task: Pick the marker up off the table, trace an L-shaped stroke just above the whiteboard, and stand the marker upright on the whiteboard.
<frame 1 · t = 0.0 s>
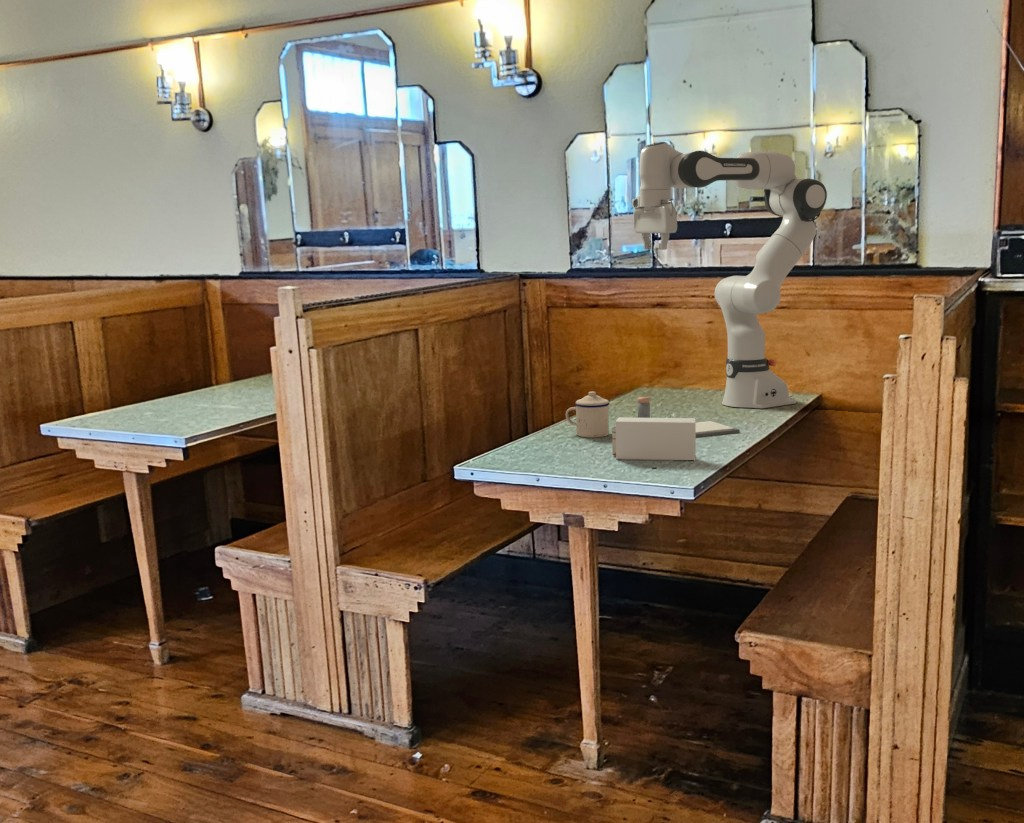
hand: (655, 249, 303), 48 cm above the table, fingers open, 8 cm apart
whiteboard: (684, 432, 281), on the table
marker: (643, 424, 294), on the table
teacup with lid: (587, 435, 282), on the table
cigarette display: (653, 459, 251), on the table
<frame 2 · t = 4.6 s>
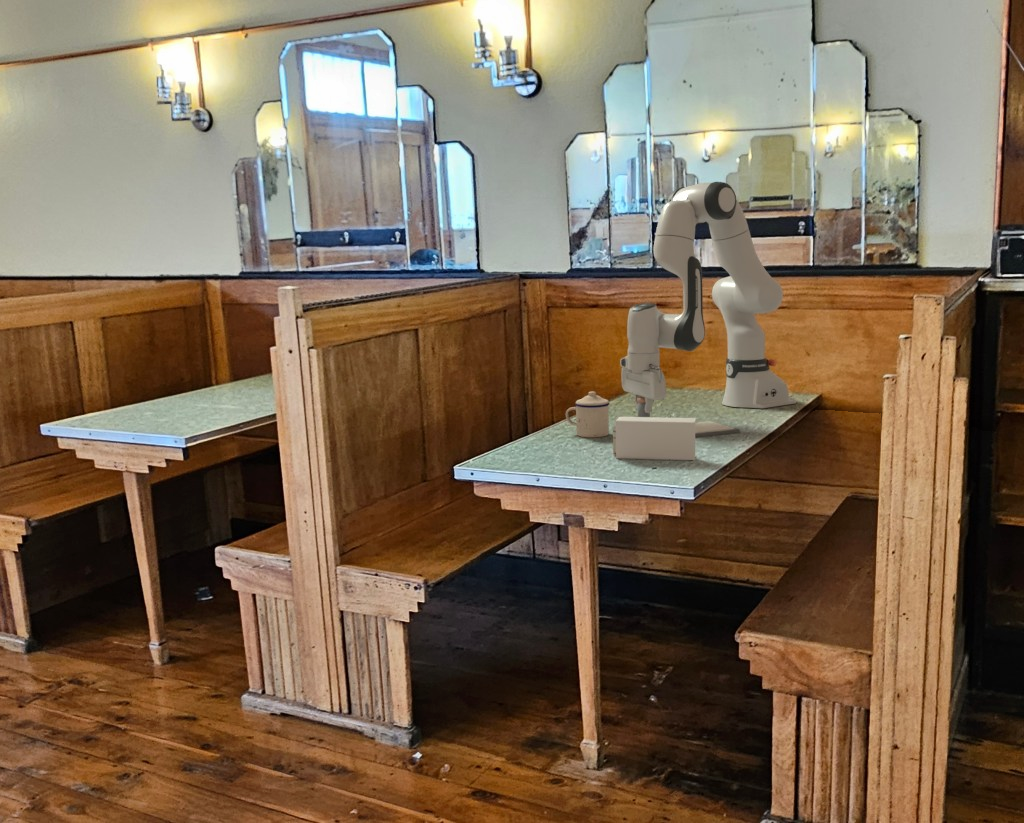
hand: (643, 411, 294), 4 cm above the table, fingers closed on marker, 3 cm apart
marker: (643, 424, 294), on the table, touching gripper
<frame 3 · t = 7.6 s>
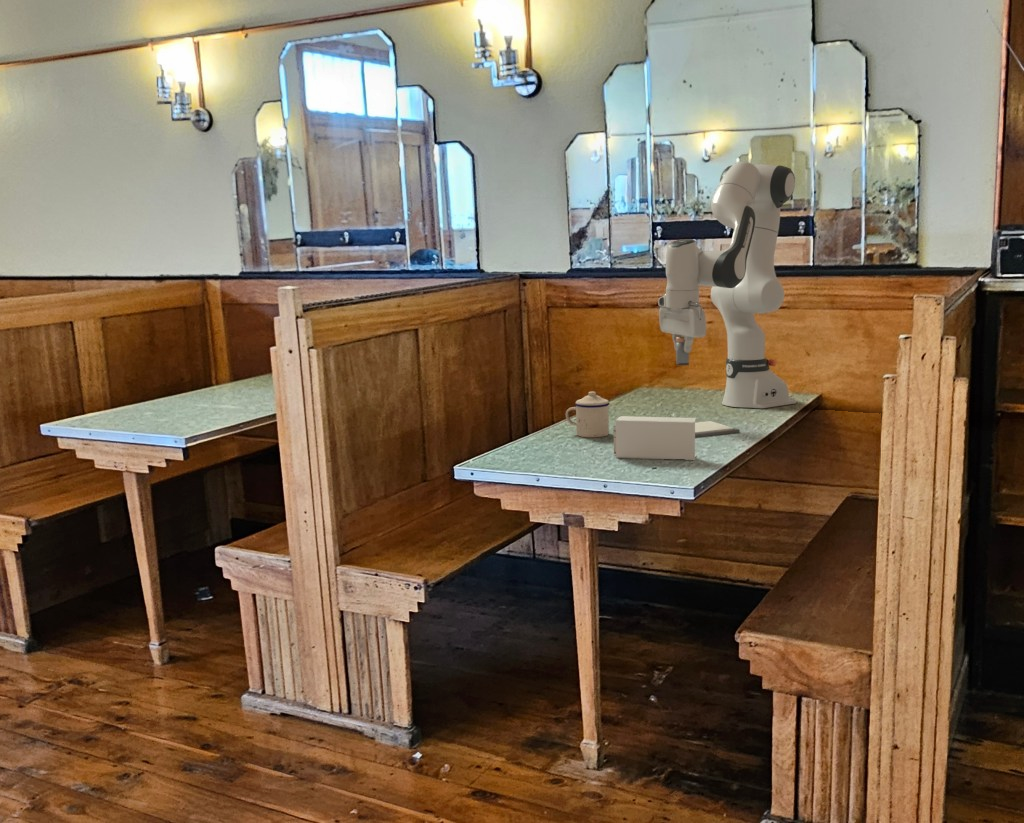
hand: (682, 351, 286), 21 cm above the table, fingers closed on marker, 3 cm apart
marker: (682, 364, 286), point 17 cm above the table, touching gripper
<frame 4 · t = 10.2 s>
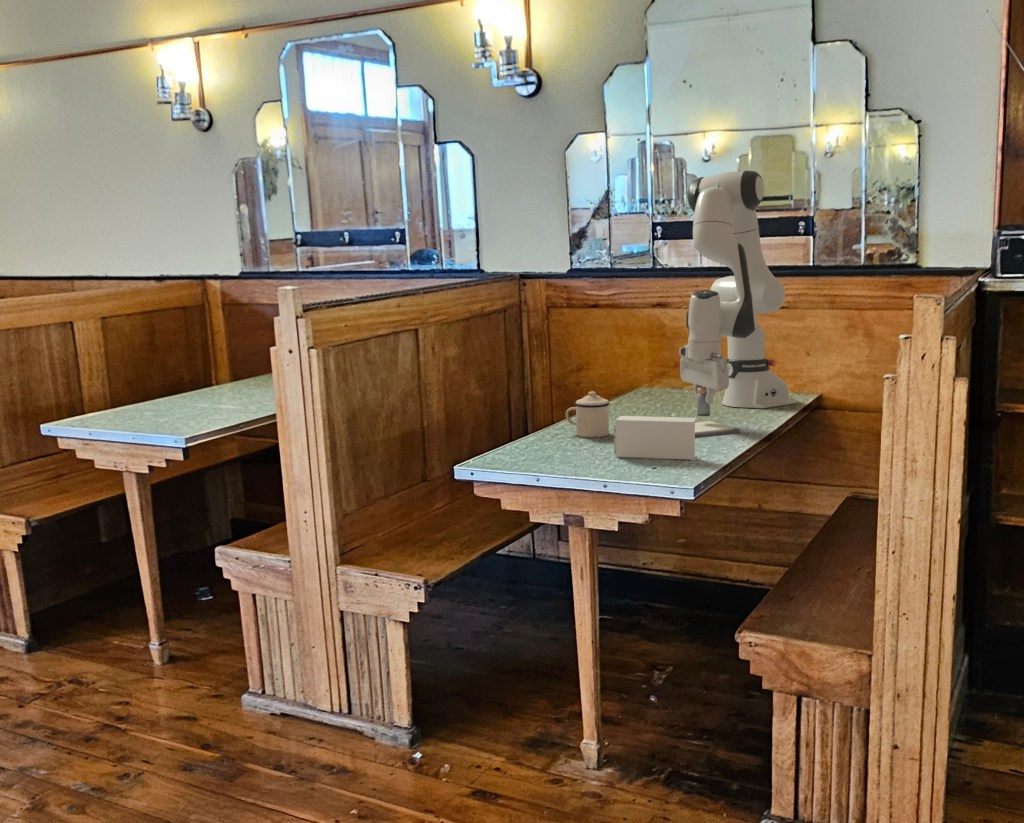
hand: (704, 402, 285), 7 cm above the table, fingers closed on marker, 3 cm apart
marker: (703, 415, 286), point 4 cm above the table, touching gripper
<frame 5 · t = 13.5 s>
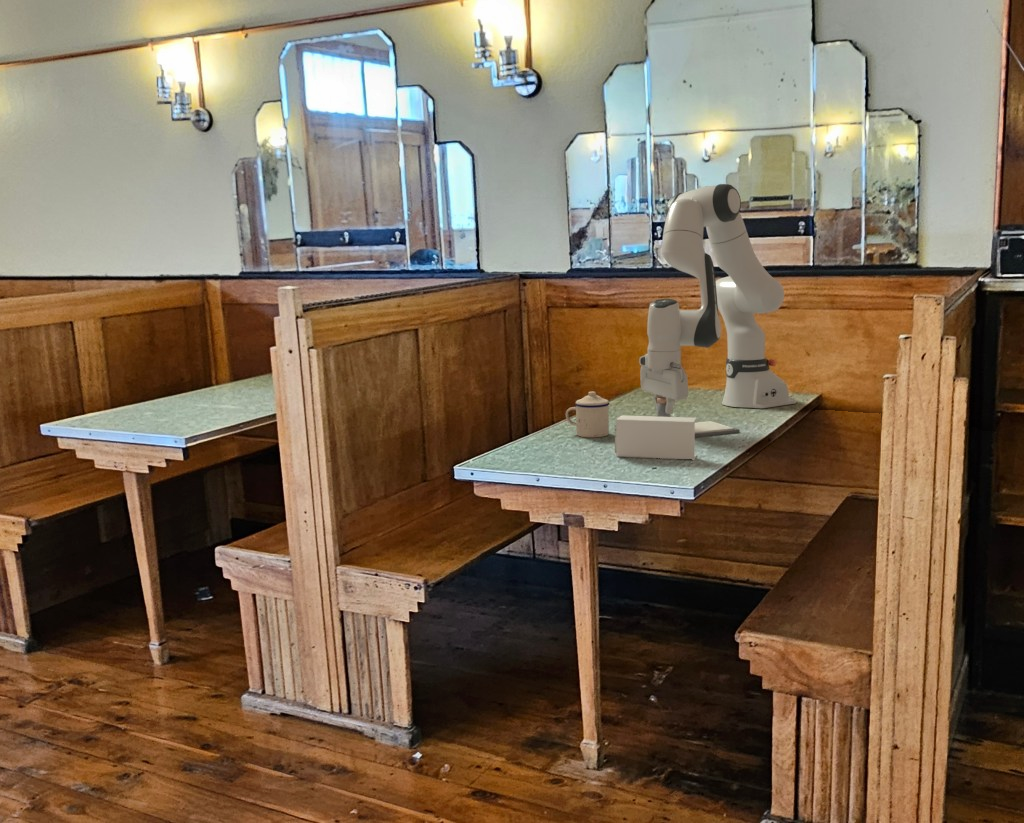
hand: (664, 412, 281), 5 cm above the table, fingers closed on marker, 3 cm apart
marker: (663, 425, 282), point 2 cm above the table, touching gripper
when the fingers open (5 cm above the table, at t = 16.1 s): marker stays where it is, resting on whiteboard.
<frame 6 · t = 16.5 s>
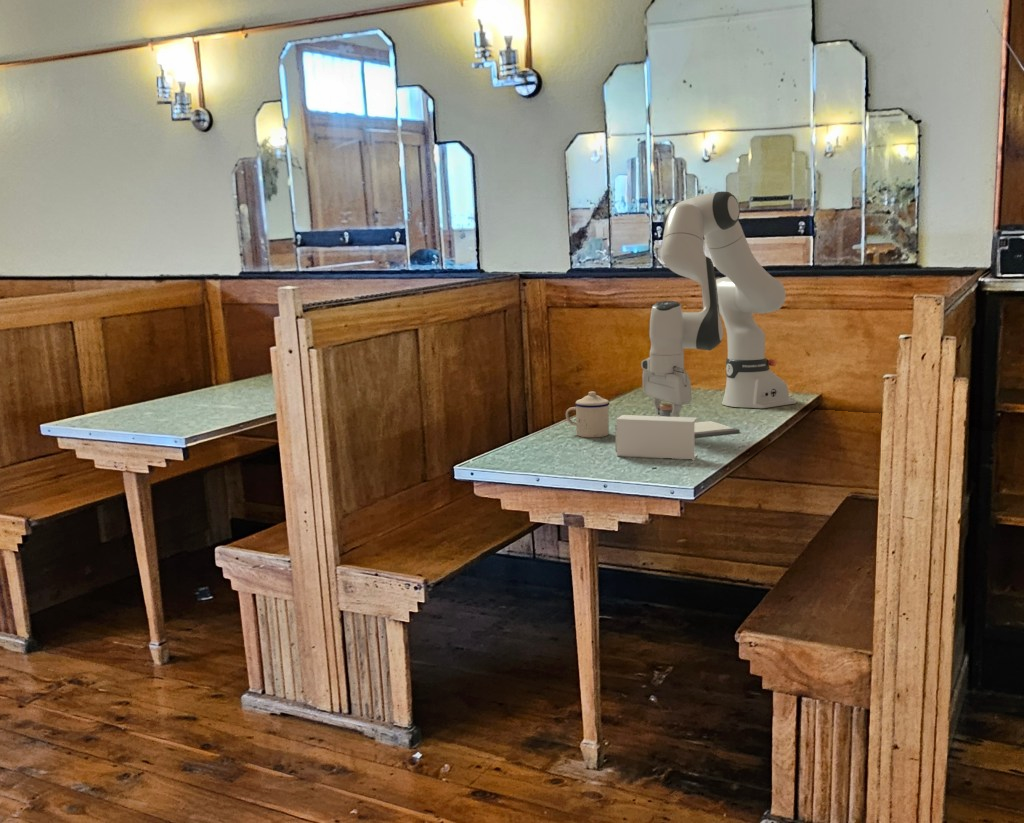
hand: (666, 417, 275), 5 cm above the table, fingers open, 7 cm apart
marker: (666, 432, 276), point 1 cm above the table, touching whiteboard
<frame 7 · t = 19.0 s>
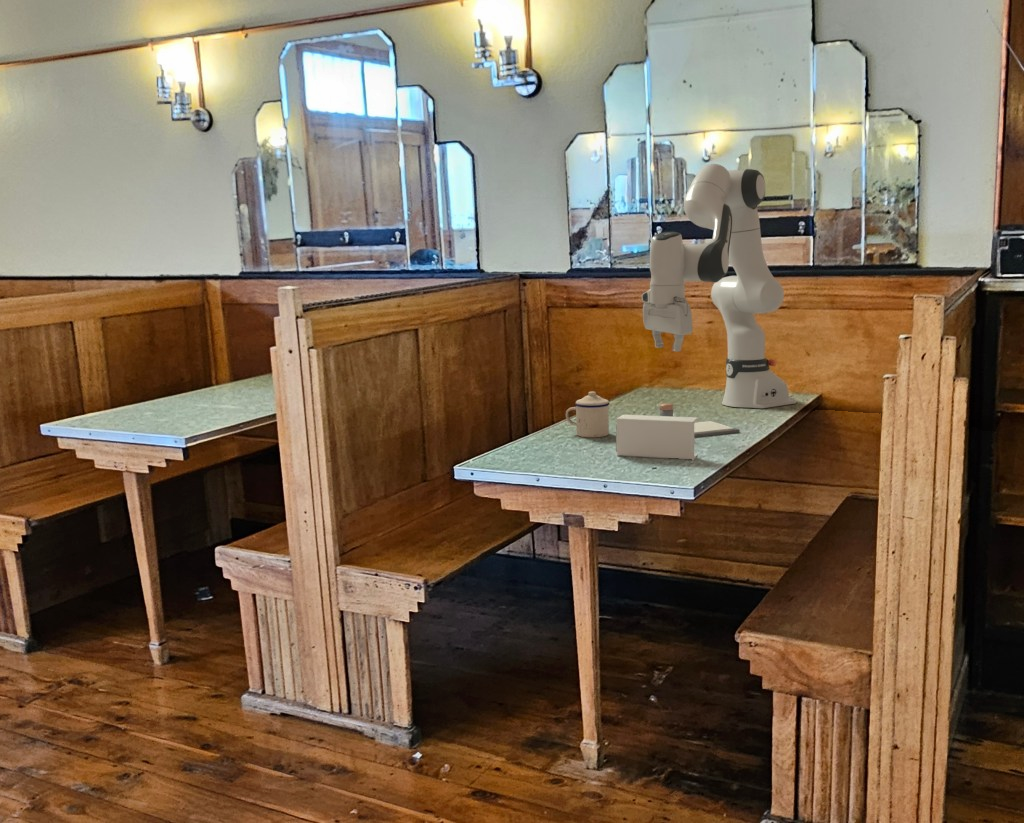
hand: (667, 349, 273), 23 cm above the table, fingers open, 8 cm apart
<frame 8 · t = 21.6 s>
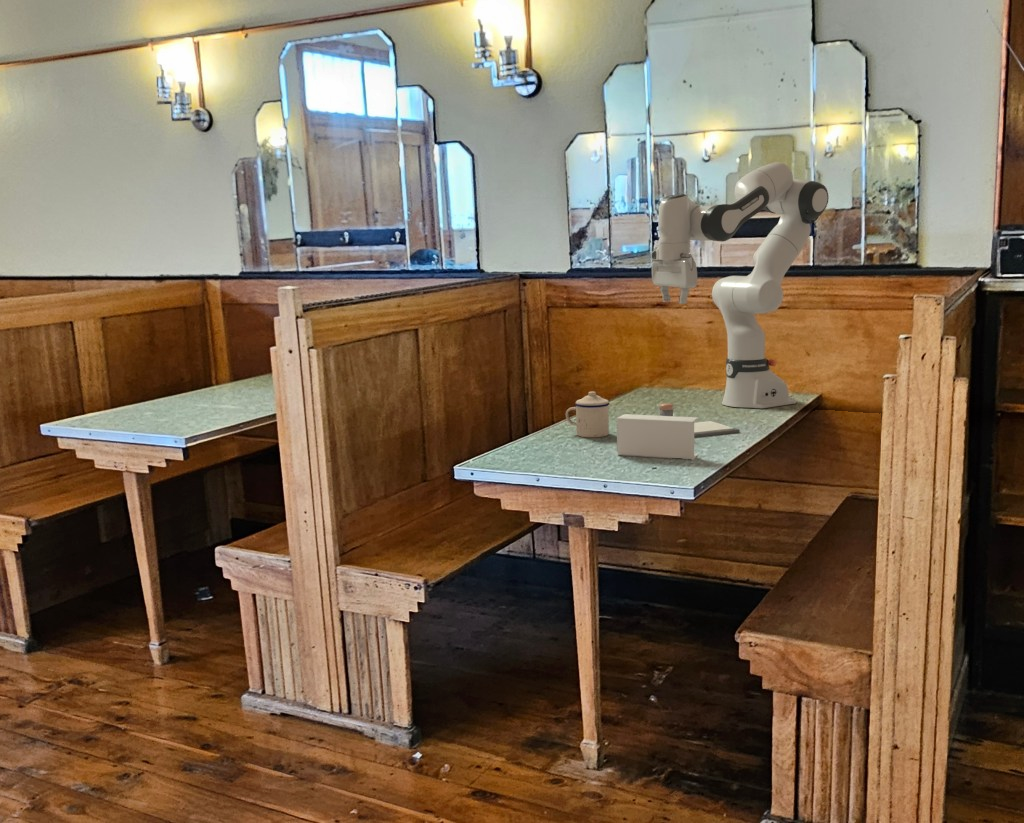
hand: (674, 302, 296), 33 cm above the table, fingers open, 8 cm apart
at the end: marker inside the target area on the whiteboard (0.8 cm from its centre), point 1.1 cm above the whiteboard's base; marker tilted 0°; marker moved 19.2 cm from its start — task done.
